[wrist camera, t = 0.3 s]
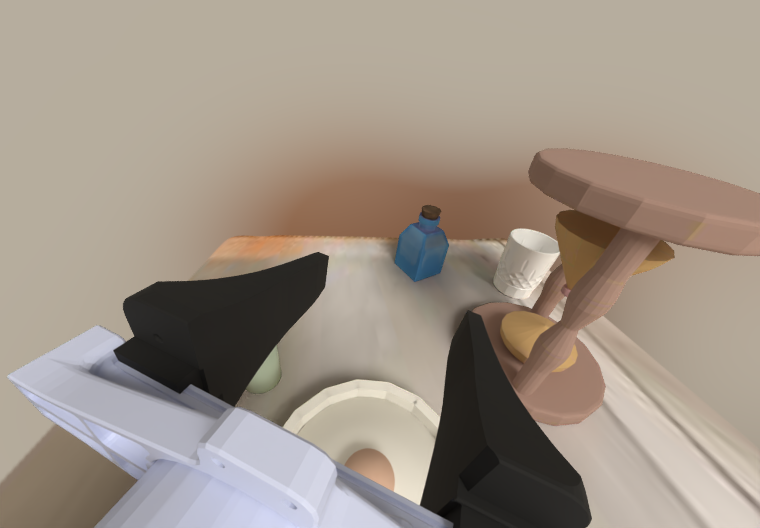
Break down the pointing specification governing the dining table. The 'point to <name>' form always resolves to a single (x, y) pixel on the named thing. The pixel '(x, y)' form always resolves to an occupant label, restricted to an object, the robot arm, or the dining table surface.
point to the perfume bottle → (422, 246)
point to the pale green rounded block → (266, 374)
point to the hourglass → (606, 264)
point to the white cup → (524, 262)
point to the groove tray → (372, 432)
